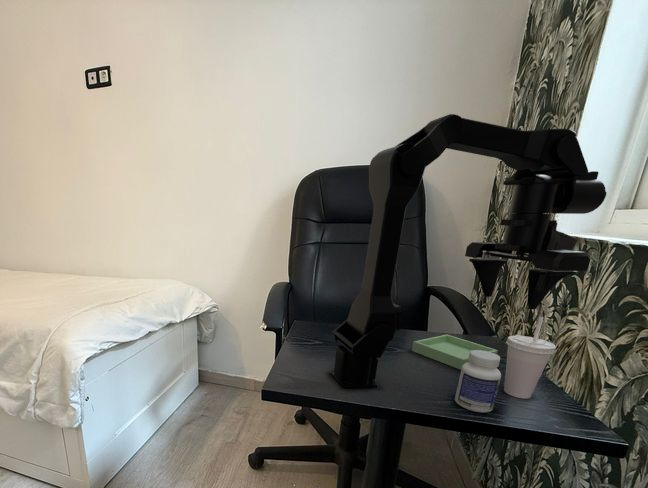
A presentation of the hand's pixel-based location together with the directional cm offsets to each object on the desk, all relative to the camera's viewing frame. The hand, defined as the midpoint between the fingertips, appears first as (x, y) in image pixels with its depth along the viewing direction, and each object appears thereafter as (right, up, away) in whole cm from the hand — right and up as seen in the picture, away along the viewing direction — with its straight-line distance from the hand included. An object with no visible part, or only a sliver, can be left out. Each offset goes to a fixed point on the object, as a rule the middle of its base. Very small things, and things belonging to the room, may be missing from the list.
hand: (508, 302), depth 65 cm
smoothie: (0, -16, -2) cm, 16 cm away
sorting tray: (-1, -11, +14) cm, 18 cm away
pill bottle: (-11, -17, -7) cm, 22 cm away
